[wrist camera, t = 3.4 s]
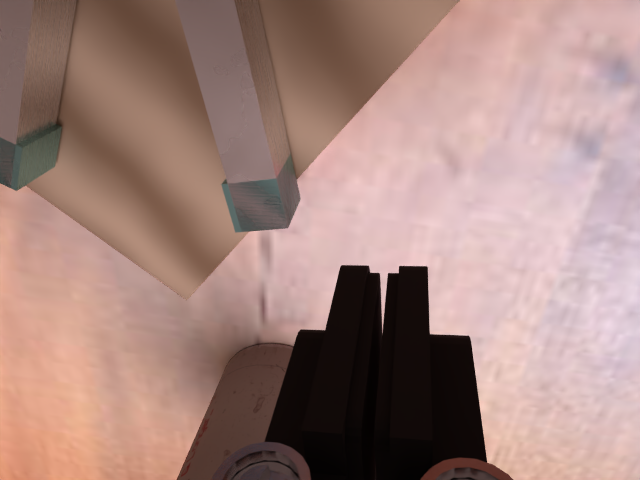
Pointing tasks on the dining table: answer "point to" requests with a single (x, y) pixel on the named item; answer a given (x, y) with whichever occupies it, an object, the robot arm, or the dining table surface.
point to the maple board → (202, 117)
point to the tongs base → (31, 85)
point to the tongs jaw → (242, 110)
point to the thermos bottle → (238, 408)
